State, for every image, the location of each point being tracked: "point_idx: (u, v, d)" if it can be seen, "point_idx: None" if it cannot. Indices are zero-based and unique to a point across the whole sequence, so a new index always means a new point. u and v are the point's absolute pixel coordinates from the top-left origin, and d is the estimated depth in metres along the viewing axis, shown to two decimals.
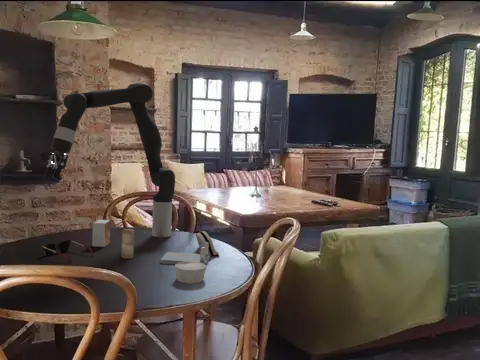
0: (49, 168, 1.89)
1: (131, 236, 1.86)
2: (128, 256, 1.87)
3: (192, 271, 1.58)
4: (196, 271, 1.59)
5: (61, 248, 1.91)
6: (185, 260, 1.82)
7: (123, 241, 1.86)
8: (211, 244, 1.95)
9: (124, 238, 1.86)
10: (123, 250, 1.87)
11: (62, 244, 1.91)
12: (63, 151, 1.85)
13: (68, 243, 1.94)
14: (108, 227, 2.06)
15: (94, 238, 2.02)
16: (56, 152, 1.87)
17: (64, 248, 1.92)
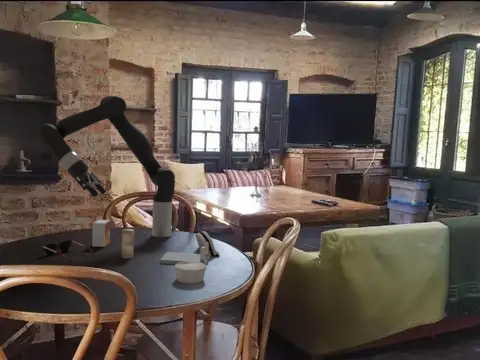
0: (97, 187, 1.94)
1: (131, 236, 1.86)
2: (128, 256, 1.87)
3: (192, 271, 1.58)
4: (196, 271, 1.59)
5: (61, 248, 1.91)
6: (185, 260, 1.82)
7: (123, 241, 1.86)
8: (211, 244, 1.95)
9: (124, 238, 1.86)
10: (123, 250, 1.87)
11: (63, 244, 1.91)
12: (78, 174, 1.86)
13: (69, 243, 1.94)
14: (108, 227, 2.06)
15: (94, 238, 2.02)
16: None
17: (64, 249, 1.92)
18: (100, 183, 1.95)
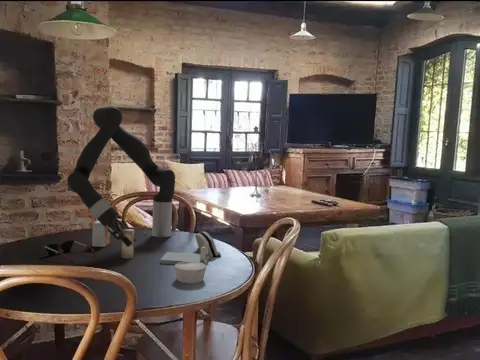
0: None
1: (131, 236, 1.86)
2: (128, 256, 1.87)
3: (192, 271, 1.58)
4: (196, 271, 1.59)
5: (63, 248, 1.91)
6: (185, 260, 1.82)
7: None
8: (213, 244, 1.94)
9: None
10: (123, 250, 1.87)
11: (65, 244, 1.91)
12: (108, 223, 1.84)
13: (71, 243, 1.94)
14: (108, 227, 2.06)
15: (94, 238, 2.02)
16: None
17: (66, 249, 1.92)
18: None
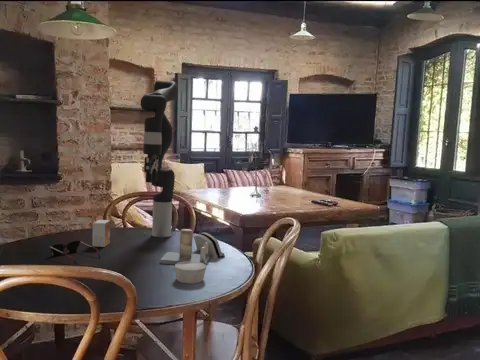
0: (153, 171, 2.00)
1: (190, 236, 1.84)
2: (187, 256, 1.85)
3: (192, 271, 1.58)
4: (196, 271, 1.59)
5: (69, 248, 1.91)
6: (185, 260, 1.82)
7: (182, 241, 1.84)
8: (217, 245, 1.94)
9: (183, 238, 1.84)
10: (182, 250, 1.85)
11: (70, 244, 1.91)
12: (149, 155, 1.92)
13: (77, 244, 1.93)
14: (108, 227, 2.06)
15: (94, 238, 2.02)
16: None
17: (73, 249, 1.92)
18: (157, 170, 2.01)
